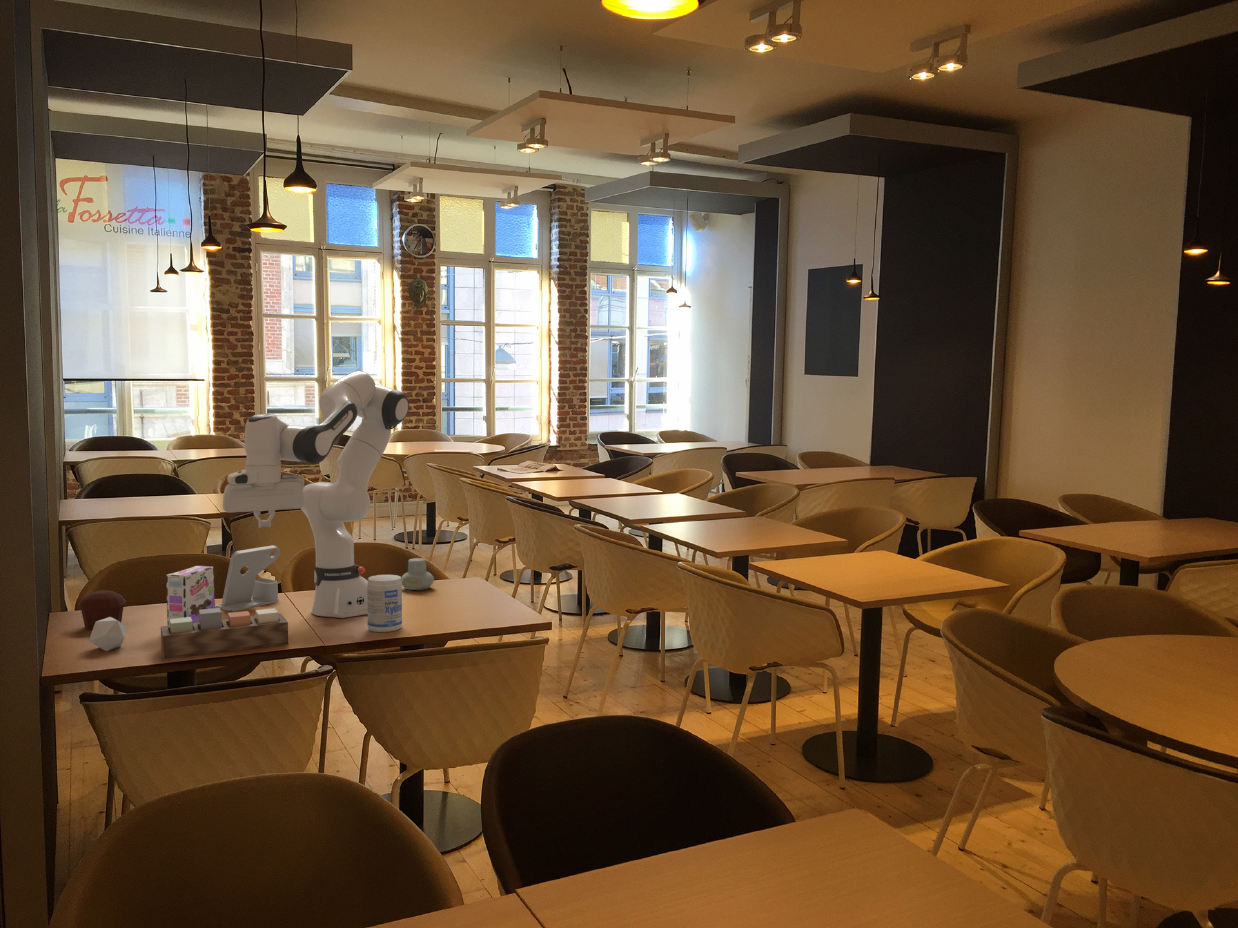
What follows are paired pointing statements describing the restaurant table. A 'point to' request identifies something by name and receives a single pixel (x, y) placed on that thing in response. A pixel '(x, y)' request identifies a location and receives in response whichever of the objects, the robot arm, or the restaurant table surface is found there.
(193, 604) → the candy box
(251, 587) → the phone holder
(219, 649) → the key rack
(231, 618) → the terracotta key
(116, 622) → the die
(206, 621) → the slate key
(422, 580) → the air freshener
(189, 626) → the sage key
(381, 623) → the supplement tub
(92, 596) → the muffin
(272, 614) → the ivory key
